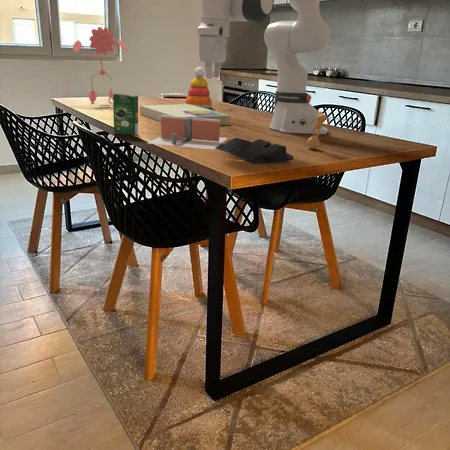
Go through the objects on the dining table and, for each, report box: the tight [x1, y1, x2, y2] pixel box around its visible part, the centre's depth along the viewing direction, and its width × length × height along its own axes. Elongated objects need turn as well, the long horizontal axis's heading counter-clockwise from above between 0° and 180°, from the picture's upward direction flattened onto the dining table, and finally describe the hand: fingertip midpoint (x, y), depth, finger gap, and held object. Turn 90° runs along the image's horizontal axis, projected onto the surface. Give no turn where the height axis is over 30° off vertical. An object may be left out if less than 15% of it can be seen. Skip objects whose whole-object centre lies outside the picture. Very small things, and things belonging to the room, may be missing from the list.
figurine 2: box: [306, 111, 330, 150], centre depth 143 cm, size 8×6×12 cm
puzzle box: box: [139, 103, 231, 126], centre depth 191 cm, size 36×5×24 cm
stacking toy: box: [183, 66, 214, 109], centre depth 224 cm, size 14×14×20 cm
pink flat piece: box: [160, 115, 192, 140], centre depth 148 cm, size 10×2×7 cm, turn 77°
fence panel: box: [192, 118, 221, 142], centre depth 146 cm, size 9×1×7 cm, turn 77°
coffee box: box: [112, 93, 139, 136], centre depth 151 cm, size 8×3×13 cm, turn 75°
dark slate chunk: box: [214, 137, 295, 165], centre depth 134 cm, size 15×22×5 cm
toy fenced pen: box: [147, 134, 229, 151], centre depth 147 cm, size 21×20×4 cm
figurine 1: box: [72, 26, 129, 107], centre depth 220 cm, size 15×26×35 cm, turn 125°
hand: (212, 77), depth 146 cm, fingers open, 8 cm apart
